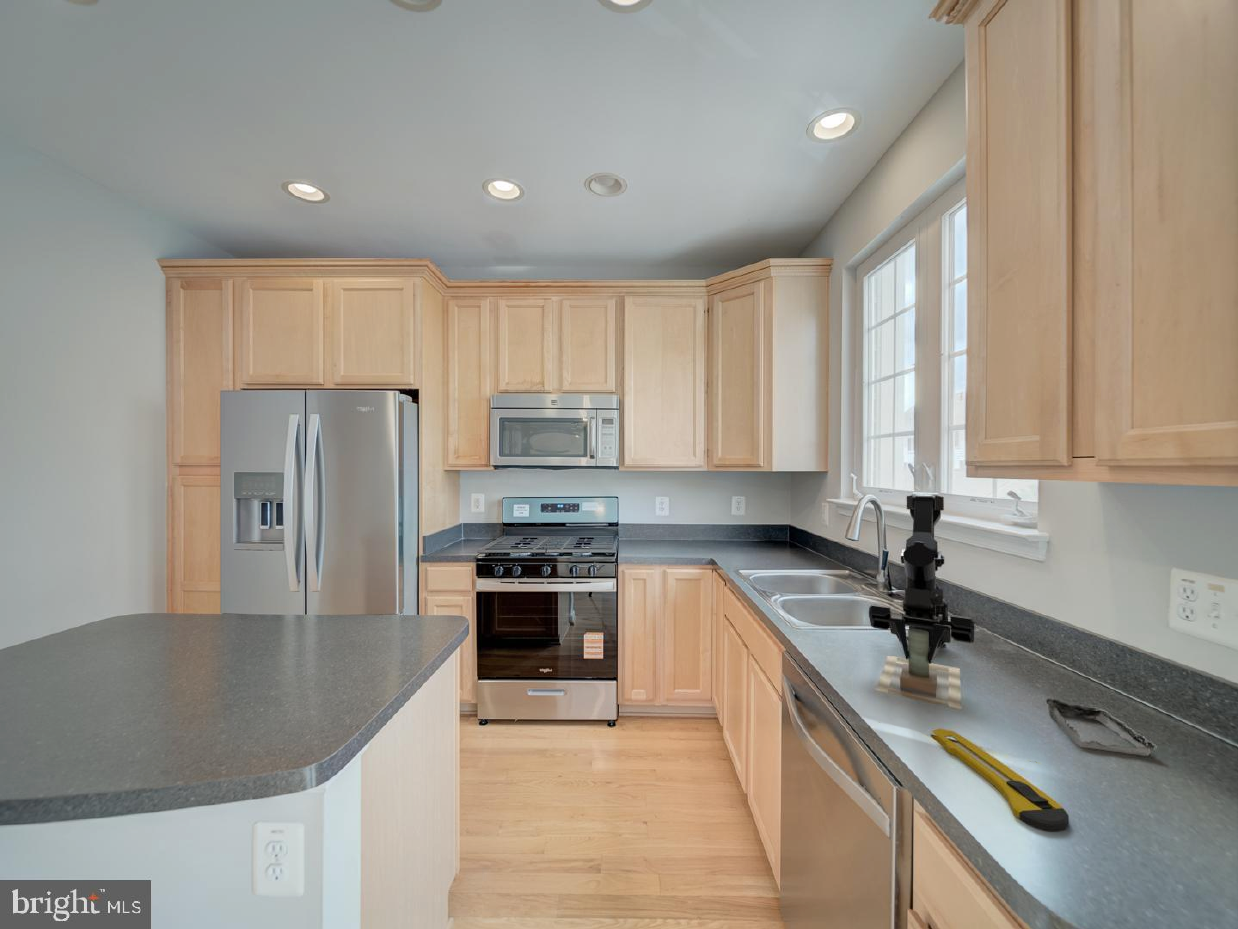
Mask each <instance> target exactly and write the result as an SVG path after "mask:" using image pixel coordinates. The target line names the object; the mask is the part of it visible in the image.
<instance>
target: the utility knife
mask: <svg viewBox="0 0 1238 929" xmlns="http://www.w3.org/2000/svg"><path fill="white" fill-rule="evenodd" d="M932 733H933V734H932ZM930 737H931V739H933V740H934V741H935V742H937V743H938V744H940V745H941V746H943V747H944V748H945V751H947V753H949V754H950V755H952V756H955V757H957V758H958V759H960V761H962V762H963V763H965V764H966V765H967V766H968V767H970V768H972V770H974V771H975V772H976V773H978V774H979V775H980V776H981V777H983V778H984V779H985V780H986V781H988V782H989V783H990V784H991V785H992V786H993V787H995V789H997V790H998V792H1000V793H1001V795H1003V797H1004V798H1005V800H1006V801H1007V803H1008V805H1009V807H1010V809H1011V812H1012V814H1013V815H1014V816H1015V817H1016V818H1017V819H1019V820H1020V821H1021V822H1023V823H1025V824H1026V825H1029V826H1030V827H1032V828H1035V829H1038V830H1041V831H1045V832H1061V831H1065V830H1066V829H1067V828H1068V827H1069V823H1070V822H1069V820H1070V818H1069V814H1068V813H1067V811H1066V810H1065V808H1063V806H1062V805H1061V804H1059V802H1057V801H1056V800H1054V799H1053V798H1052V797H1050V796H1049V795H1048V794H1047V793H1045V792H1044V791H1042V790H1041V789H1039V788H1038V787H1037V786H1035V785H1034V784H1033V783H1031V782H1030V781H1029V780H1027V779H1025V778H1024V777H1023V776H1021V775H1020V774H1018V773H1017V772H1016V771H1015V770H1013V769H1011V767H1009V766H1007V765H1006V764H1004V763H1003V762H1001V761H1000V760H999V759H997V758H996V757H994V756H993V755H991V754H990V753H988V752H987V751H986V750H984V749H983V748H981V747H980V746H978V745H977V744H975V743H973V742H971V740H968V739H967V738H965V737H964V736H962V735H960V734H959V733H957V732H956V731H953V730H948V729H944V728H940V727H939V728H936V729H934V730H931V733H930ZM949 737H951V738H949ZM952 738H954V739H952Z"/></svg>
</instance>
